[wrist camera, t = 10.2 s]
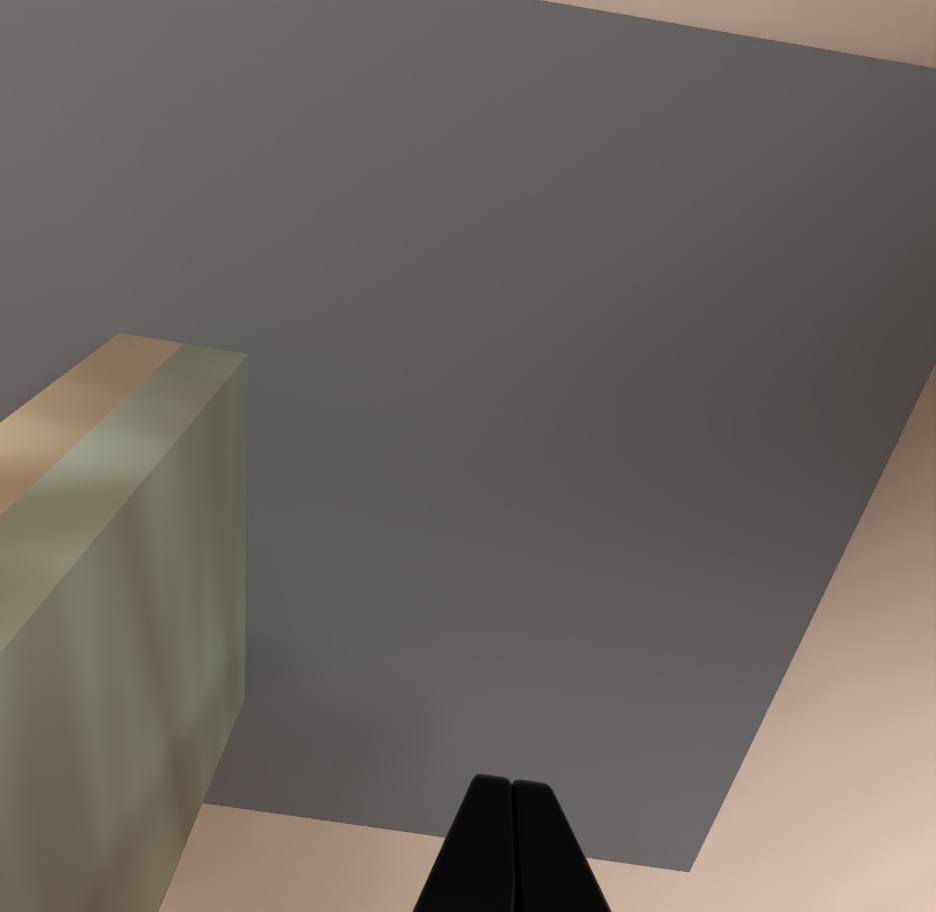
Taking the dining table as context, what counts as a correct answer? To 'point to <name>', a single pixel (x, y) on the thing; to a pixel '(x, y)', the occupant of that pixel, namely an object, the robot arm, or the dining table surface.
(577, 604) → the mat
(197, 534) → the tile
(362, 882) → the dining table surface
